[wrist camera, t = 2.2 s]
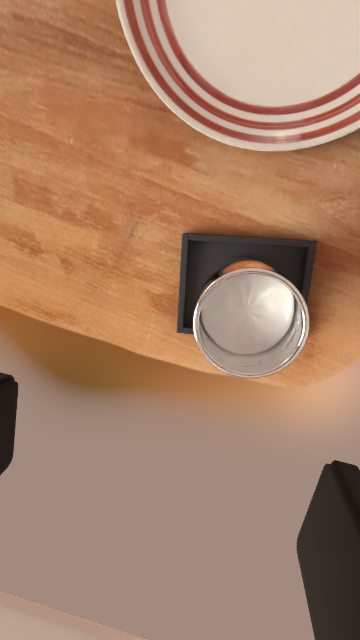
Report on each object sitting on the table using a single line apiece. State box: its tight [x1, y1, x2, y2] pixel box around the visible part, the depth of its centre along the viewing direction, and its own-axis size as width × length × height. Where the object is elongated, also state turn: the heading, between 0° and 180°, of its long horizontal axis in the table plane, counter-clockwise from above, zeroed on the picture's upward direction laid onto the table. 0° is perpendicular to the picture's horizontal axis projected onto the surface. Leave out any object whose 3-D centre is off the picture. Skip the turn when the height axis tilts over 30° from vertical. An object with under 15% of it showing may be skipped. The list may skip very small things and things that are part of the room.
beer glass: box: [193, 257, 309, 379], centre depth 26 cm, size 7×7×15 cm
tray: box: [177, 233, 317, 334], centre depth 33 cm, size 12×10×2 cm
